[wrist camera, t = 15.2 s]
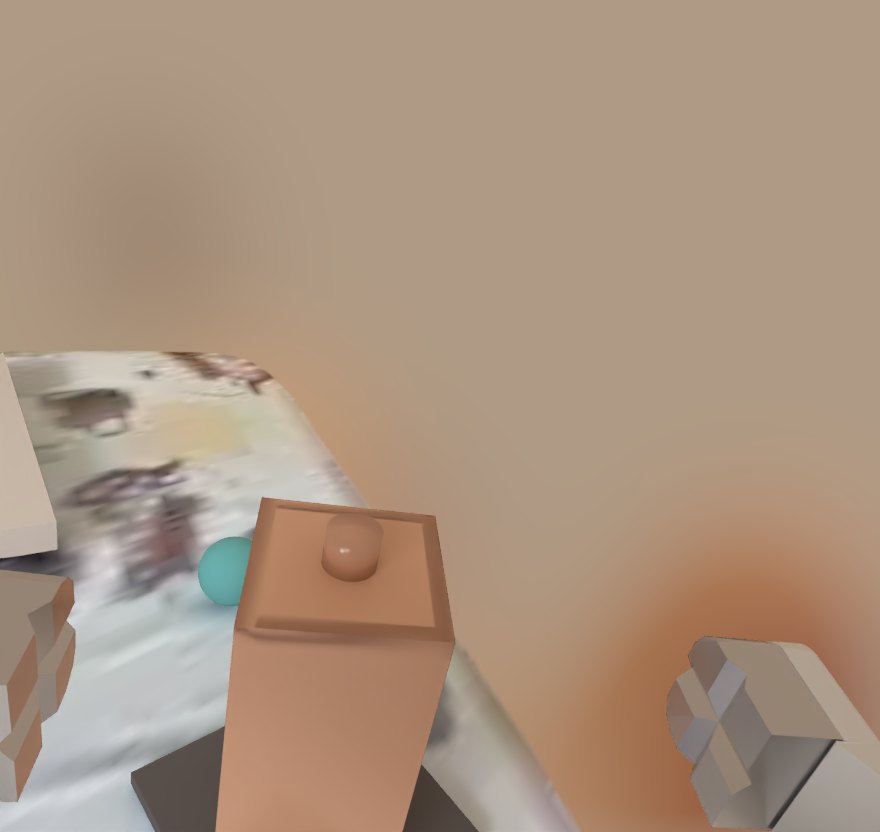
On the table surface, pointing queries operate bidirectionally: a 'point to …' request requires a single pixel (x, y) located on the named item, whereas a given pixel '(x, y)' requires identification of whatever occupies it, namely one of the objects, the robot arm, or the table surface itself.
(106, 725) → the table surface
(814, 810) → the robot arm
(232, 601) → the ball
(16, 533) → the cream flat block
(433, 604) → the tan box with knob
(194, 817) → the mat
